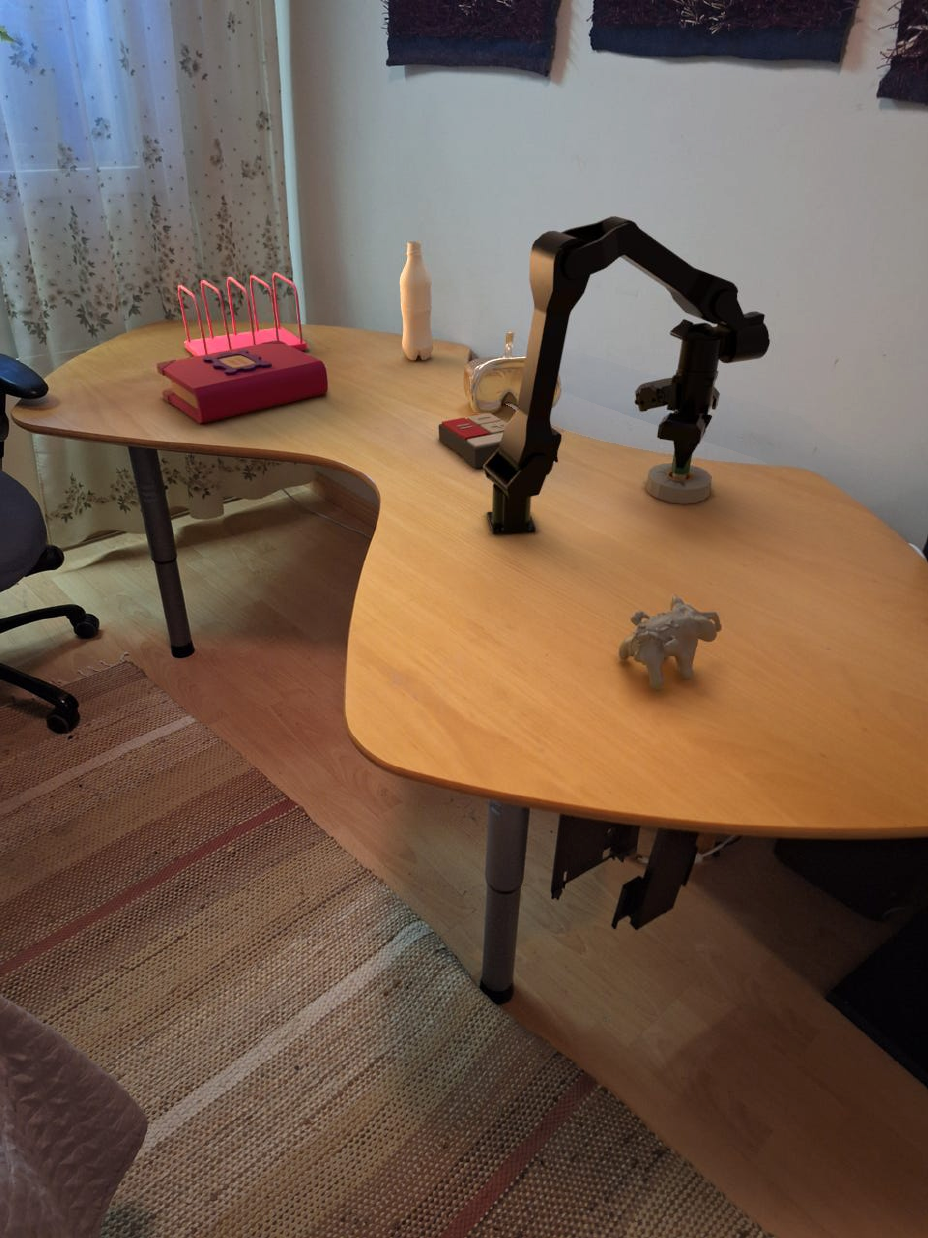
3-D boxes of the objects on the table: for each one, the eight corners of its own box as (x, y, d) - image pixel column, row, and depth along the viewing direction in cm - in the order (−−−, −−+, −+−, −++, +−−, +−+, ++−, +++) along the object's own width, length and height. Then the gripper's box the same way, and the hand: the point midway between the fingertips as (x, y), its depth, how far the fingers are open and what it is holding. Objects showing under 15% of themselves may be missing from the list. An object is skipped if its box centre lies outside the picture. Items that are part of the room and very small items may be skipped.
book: (329, 395, 167) (326, 359, 163) (202, 426, 153) (195, 387, 149) (282, 371, 181) (277, 336, 177) (161, 397, 167) (153, 360, 162)
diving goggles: (470, 422, 155) (470, 346, 147) (459, 402, 164) (458, 330, 156) (560, 415, 158) (564, 340, 149) (544, 395, 167) (547, 324, 159)
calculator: (490, 410, 150) (531, 433, 138) (490, 432, 152) (531, 457, 141) (437, 420, 146) (475, 444, 134) (438, 442, 148) (475, 468, 136)
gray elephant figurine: (603, 667, 92) (610, 612, 87) (664, 625, 99) (674, 572, 94) (671, 705, 86) (682, 648, 82) (731, 659, 93) (744, 604, 89)
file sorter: (307, 350, 194) (300, 282, 185) (205, 367, 183) (191, 295, 174) (282, 333, 206) (274, 268, 197) (185, 348, 196) (171, 280, 187)
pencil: (684, 492, 129) (696, 423, 122) (666, 489, 129) (678, 421, 123) (687, 486, 130) (699, 418, 124) (669, 483, 131) (681, 415, 125)
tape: (718, 501, 127) (721, 486, 125) (657, 505, 126) (660, 490, 124) (695, 475, 135) (698, 460, 133) (638, 478, 134) (640, 464, 132)
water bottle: (398, 355, 190) (393, 240, 176) (426, 351, 193) (423, 238, 179) (409, 363, 185) (404, 246, 171) (438, 359, 188) (435, 243, 173)
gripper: (656, 343, 128) (644, 436, 137) (629, 378, 114) (617, 479, 123) (727, 351, 125) (710, 446, 134) (708, 388, 111) (690, 491, 120)
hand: (681, 464), depth 128 cm, fingers closed on pencil, 2 cm apart
